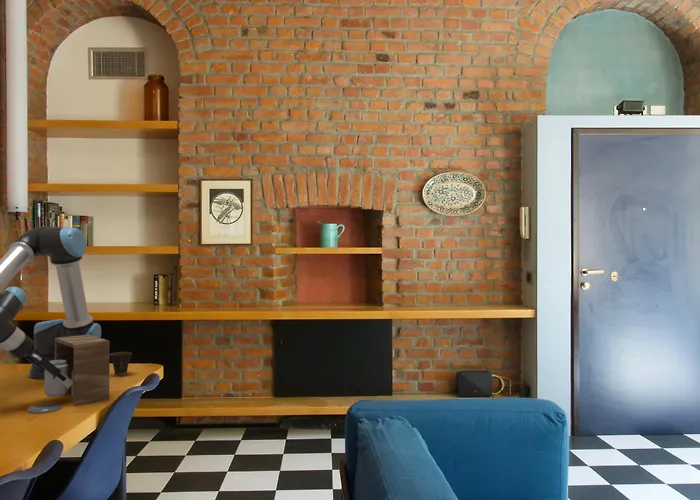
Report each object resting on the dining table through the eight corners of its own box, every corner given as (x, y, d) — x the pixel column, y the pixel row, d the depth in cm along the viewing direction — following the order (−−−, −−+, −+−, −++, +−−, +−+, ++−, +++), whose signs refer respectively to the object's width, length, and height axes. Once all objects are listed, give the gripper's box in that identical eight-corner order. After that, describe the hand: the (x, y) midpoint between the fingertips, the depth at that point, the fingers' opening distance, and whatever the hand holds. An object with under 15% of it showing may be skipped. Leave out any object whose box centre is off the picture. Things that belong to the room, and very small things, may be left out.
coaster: (23, 409, 204) (23, 407, 204) (54, 403, 211) (54, 401, 211) (33, 415, 197) (33, 413, 197) (65, 409, 204) (65, 407, 204)
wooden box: (54, 395, 222) (55, 338, 222) (88, 390, 231) (88, 334, 231) (74, 405, 209) (74, 344, 208) (109, 399, 217) (109, 340, 217)
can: (72, 393, 216) (72, 359, 216) (56, 398, 209) (56, 363, 209) (56, 391, 218) (56, 358, 218) (39, 396, 211) (39, 362, 211)
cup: (101, 374, 254) (105, 351, 255) (118, 373, 262) (122, 350, 262) (116, 378, 250) (120, 353, 250) (133, 376, 257) (136, 353, 258)
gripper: (-1, 347, 210) (48, 386, 221) (17, 356, 195) (69, 397, 207) (16, 331, 213) (63, 370, 225) (35, 338, 199) (85, 379, 210)
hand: (66, 383), depth 216 cm, fingers closed on can, 7 cm apart
